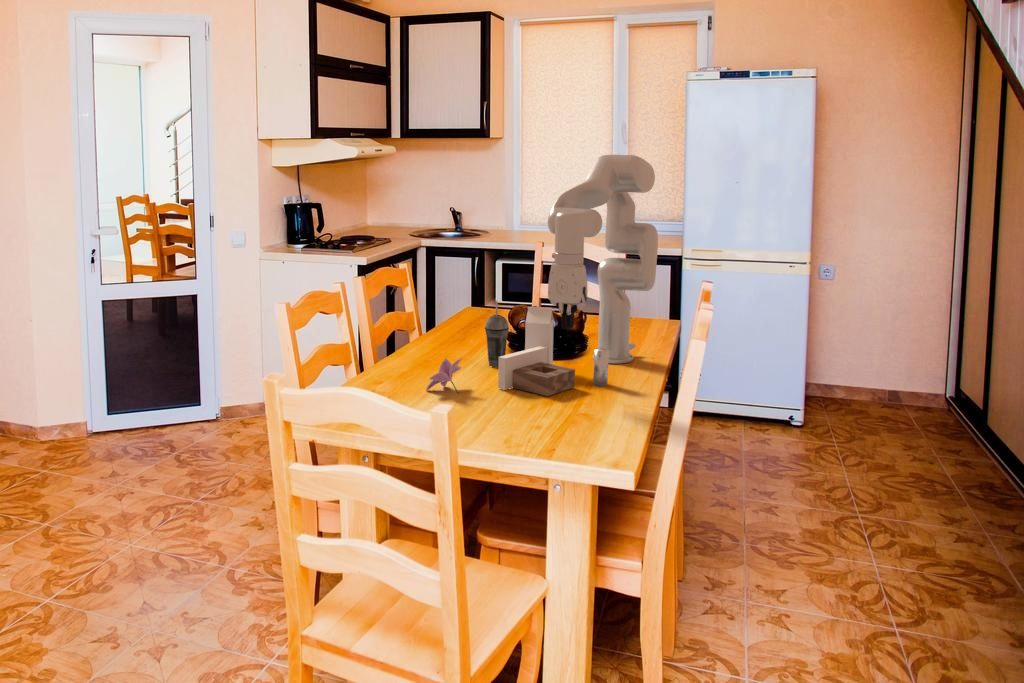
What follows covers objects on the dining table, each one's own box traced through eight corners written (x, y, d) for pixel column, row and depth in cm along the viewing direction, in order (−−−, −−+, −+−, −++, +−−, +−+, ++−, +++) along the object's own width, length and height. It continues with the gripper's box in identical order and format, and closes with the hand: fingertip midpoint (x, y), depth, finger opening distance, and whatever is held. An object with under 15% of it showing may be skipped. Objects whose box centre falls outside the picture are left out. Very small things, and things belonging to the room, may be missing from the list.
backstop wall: (539, 376, 256) (540, 346, 254) (546, 378, 255) (546, 347, 253) (498, 389, 243) (498, 356, 241) (504, 390, 241) (505, 358, 239)
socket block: (540, 379, 252) (540, 362, 251) (574, 387, 245) (575, 369, 244) (512, 387, 243) (513, 369, 242) (547, 396, 236) (548, 377, 235)
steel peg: (598, 381, 252) (599, 347, 249) (610, 384, 249) (611, 349, 247) (590, 384, 249) (591, 349, 246) (602, 387, 246) (603, 352, 244)
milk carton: (548, 374, 259) (550, 310, 254) (524, 373, 260) (525, 308, 256) (552, 368, 265) (554, 305, 261) (528, 367, 267) (530, 304, 263)
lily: (468, 388, 247) (453, 357, 247) (480, 382, 236) (465, 349, 236) (430, 406, 243) (415, 374, 243) (441, 401, 232) (425, 367, 232)
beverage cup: (509, 363, 271) (510, 298, 267) (507, 369, 264) (508, 302, 260) (486, 362, 272) (486, 297, 267) (482, 368, 265) (483, 301, 260)
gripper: (537, 258, 234) (536, 326, 238) (583, 264, 224) (582, 335, 228) (555, 255, 239) (553, 322, 243) (601, 260, 230) (598, 330, 234)
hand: (567, 328), depth 236 cm, fingers closed
